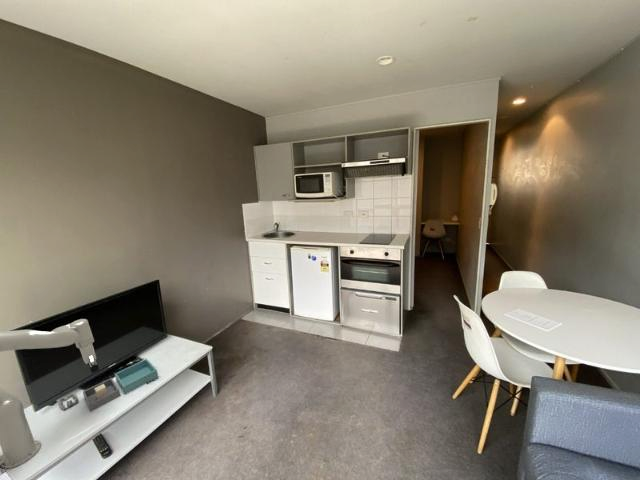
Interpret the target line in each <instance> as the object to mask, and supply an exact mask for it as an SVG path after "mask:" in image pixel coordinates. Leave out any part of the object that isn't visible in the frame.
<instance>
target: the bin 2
mask: <svg viewBox="0 0 640 480" xmlns="http://www.w3.org/2000/svg"><path fill="white" fill-rule="evenodd" d="M114 377H115V381H116V382H117V384H118V386H119V387H120V388H121V390H122V392H123V393H124V394H125V395H126V394H128V393H131V392H132V391H134V390H136V389H137V388H140V387H141V386H144V385H145V384H146V385H148V384H150V383H152V382H153V381H156V380H157V379H159V373H158V370H157V368H156V367H155V366H154V365H153V363H151V362H150V360H149V359H147V358H144V359H143V360H141V361H139V362H136V363H134V364H132V365H131V366H128V367H126V368H123V369H122V370H120V371H118V372H116V373H114Z"/></svg>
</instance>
